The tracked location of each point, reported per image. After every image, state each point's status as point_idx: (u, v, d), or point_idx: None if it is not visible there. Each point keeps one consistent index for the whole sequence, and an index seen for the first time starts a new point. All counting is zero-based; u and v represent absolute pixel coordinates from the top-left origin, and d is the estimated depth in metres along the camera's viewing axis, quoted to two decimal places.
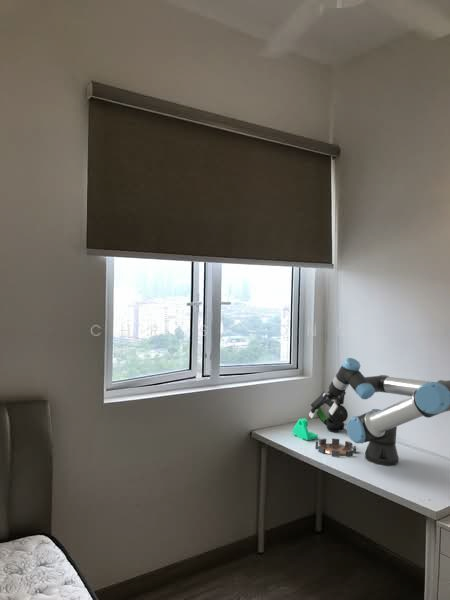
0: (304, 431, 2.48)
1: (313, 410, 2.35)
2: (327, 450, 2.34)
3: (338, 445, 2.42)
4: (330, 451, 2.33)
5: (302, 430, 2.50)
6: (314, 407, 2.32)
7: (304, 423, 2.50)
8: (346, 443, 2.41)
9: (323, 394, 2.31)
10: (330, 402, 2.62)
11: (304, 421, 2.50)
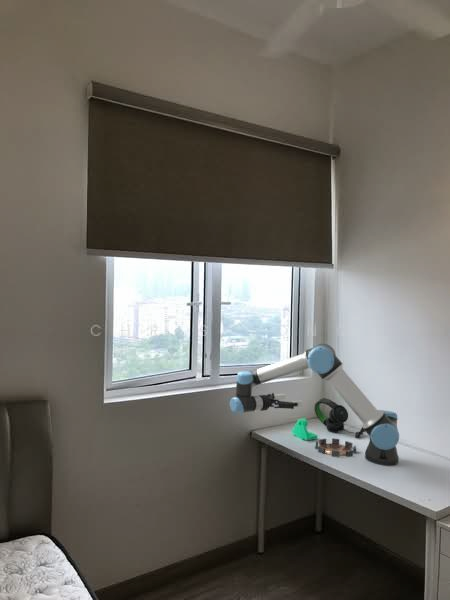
0: (304, 431, 2.48)
1: (295, 403, 2.37)
2: (327, 450, 2.34)
3: (338, 445, 2.42)
4: (330, 451, 2.33)
5: (301, 430, 2.50)
6: (292, 403, 2.34)
7: (304, 423, 2.49)
8: (346, 443, 2.41)
9: (276, 406, 2.33)
10: (330, 403, 2.61)
11: (304, 421, 2.50)
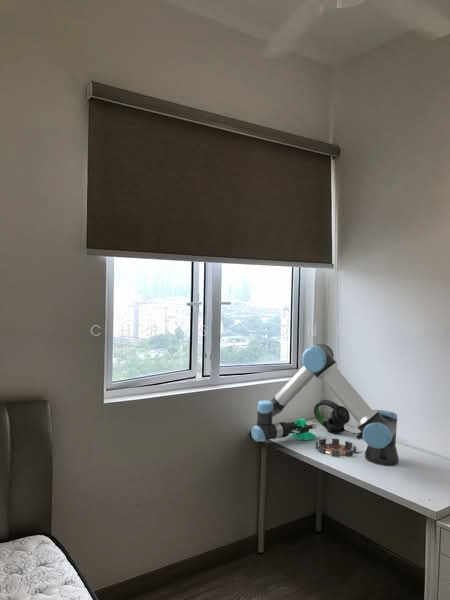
0: None
1: (310, 426, 2.51)
2: (327, 450, 2.34)
3: (338, 445, 2.42)
4: (330, 451, 2.33)
5: None
6: (308, 426, 2.48)
7: (302, 423, 2.49)
8: (346, 443, 2.41)
9: (299, 432, 2.43)
10: (332, 404, 2.58)
11: (302, 421, 2.50)
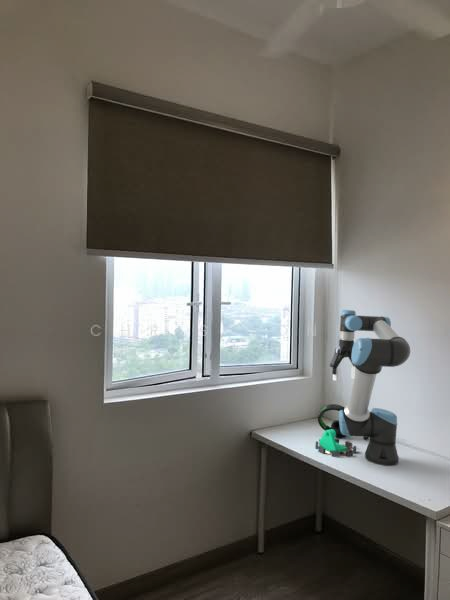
0: (332, 443, 2.30)
1: (334, 370, 2.47)
2: None
3: None
4: None
5: (329, 442, 2.32)
6: (333, 365, 2.46)
7: (332, 434, 2.31)
8: (346, 443, 2.41)
9: (336, 350, 2.48)
10: (342, 408, 2.50)
11: (332, 432, 2.32)
